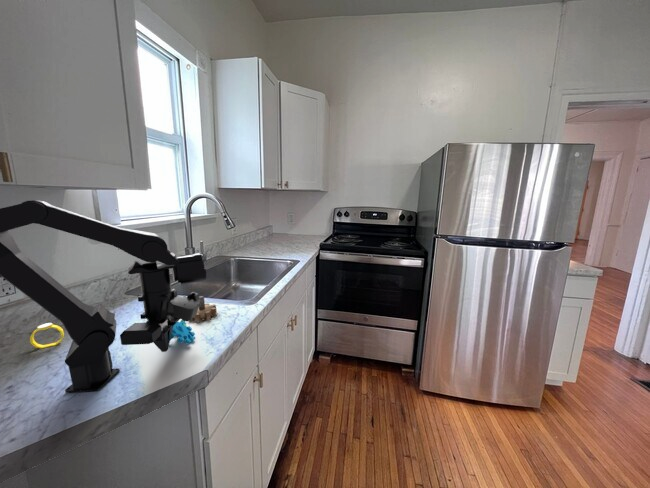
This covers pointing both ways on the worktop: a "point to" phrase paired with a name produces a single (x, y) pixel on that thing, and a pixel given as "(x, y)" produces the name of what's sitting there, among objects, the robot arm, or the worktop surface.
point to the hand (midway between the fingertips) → (165, 351)
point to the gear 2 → (205, 311)
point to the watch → (43, 327)
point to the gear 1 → (182, 332)
